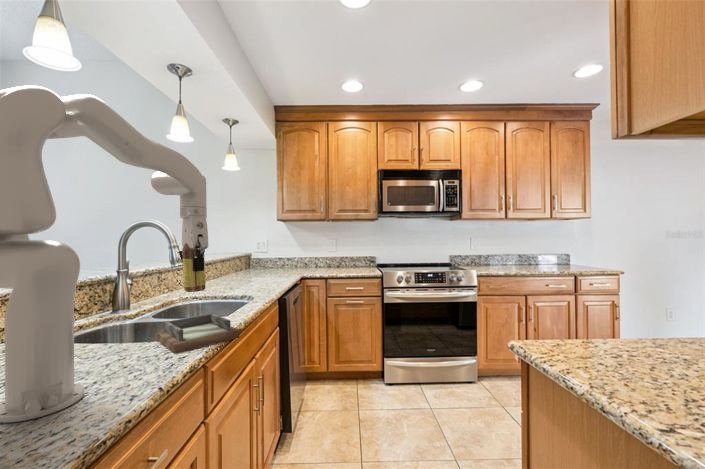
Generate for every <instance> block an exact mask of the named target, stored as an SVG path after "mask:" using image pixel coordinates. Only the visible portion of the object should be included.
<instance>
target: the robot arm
mask: <svg viewBox="0 0 705 469" xmlns="http://www.w3.org/2000/svg"><path fill="white" fill-rule="evenodd" d="M77 137H78V138H79V137H86V138H87V139H89V140H90V141H91V142H93V143H94V144H95V145H97V146H98V147H100V148H102V150H104V151H106V152H107V153H108V154H110V155H111V156H112V157H114V158H115V159H116V160H118V161H119V162H121V163H122V164H125V165H130V166H132V167H136V168H142V169H148V170H152V171H155V172H154V173H153V174H152V175H151V178H150V184H151V187H152V189H153V190H154V191H155V192H157V193H158V194H160V195H164V196H179V216H180V217H179V218H180V219H182V223H181V224H182V225H181V247H182V248H183V247H184V245H185V244H186V243H187V244H188V246H189V248H190V249H193V255H194V258H193V271H194V272H196V271H204V260H205V257H206V256H205V252H206V251H205V250H206V249H208V248H209V234H208V233H209V231H208V222H207V216H208V215H207V212H208V211H207V178H206V177H205V176H204V175H202V173H201V171H200V170H199V169H198V167H196V166H195V165H194V163H192V161H190V160H189V159H188V157H186V156H184V155H183V154H182V153H179V152H178V151H176V150H174V149H171V148H170V147H167V146H165V145H163V144H161V143H159V142H156V141H154V140H151V139H149V138H148V137H146V136H144V135H143V134H142V133H141V132H140V131H138V130H137V129H136V128H135V127H134V126H133V125H132V124H130V123H129V122H128V121H127V120H126V119H125V118H124V117H123V116H121V115H120V114H119V113H118V112H116V111H115V109H113V108H112V107H111V106H110V105H108V103H106V102H105V101H103V100H102V99H101V98H99V97H97V96H95V95H92V94H88V93H87V94H86V93H85V94H74V95H68V96H61V97H60V96H59V95H58V94H57V93H56V92H54V91H52V90H51V89H49V88H47V87H43V86H38V85H22V86H15V87H10V88H9V87H8V88H6V89H1V90H0V289H9V290H11V289H12V290H11V291H12V292H11V294H10V296H9V299H8V302H7V305H6V307H5V308H6V309H5V313H4V314H5V315H4V401H3V402H1V403H0V423H5V424H6V423H17V422H23V421H29V420H33V419H38V418H41V417H45V416H48V415H51V414H54V413H56V412H59V411H61V410H63V409H66V408H68V407H70V406H72V405H74V404H75V403H77V402H78V401H79V400H81V399H82V398H83V397H84V396H85V387H84V386H83V385H81V384H78V383H75V296H76V295H75V294H76V288H77V283H78V279H79V276H80V271H81V262H80V257H79V255H78V254H77V252H76V251H75V249H73V247H71V246H69V245H68V244H66V243H63V242H60V241H56V240H48V239H30V237H29V235H33V234H39V233H43V232H44V231H47V230H49V229H50V228H51V227H53V225H54V224H55V222H56V220H57V210H56V206H55V202H54V199H53V196H52V192H51V189H50V185H49V182H48V179H47V175H46V172H45V168H44V163H43V159H42V158H43V148H44V145H45V143H46V141H47V140H52V139H53V140H54V139H68V138H69V139H70V138H77ZM185 230H186V232H185ZM195 247H199V248H195ZM196 251H197V253H196Z"/></svg>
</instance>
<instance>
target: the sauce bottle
mask: <svg viewBox="0 0 705 469" xmlns="http://www.w3.org/2000/svg"><path fill="white" fill-rule="evenodd" d="M185 232H186V230H185ZM195 248H199V247H195ZM196 253H197V251H196ZM193 258H194V255H193V249H190V248H189V246H188V244H187V243H186V244H185V245H184V247H182V276H183V287H184V292H187V293H195V292H201V291H205V290H206V264H205V263H206V262H205V260H206V259H204V271H196V272H194V271H193Z"/></svg>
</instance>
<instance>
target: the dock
mask: <svg viewBox="0 0 705 469" xmlns="http://www.w3.org/2000/svg"><path fill="white" fill-rule="evenodd" d="M163 324H164V325H163V326H164V327H163V328H164V331H161V332H157V333H156V334H157V335H156V339H157V340H156V341H157V342H158V343H159V342H160V343H159V344H160V345H162V346H163V347H164V348H166V349H167V350H168V351H170V352H171V353H173V354H174V355H175V354H179V353H182V352H187V351H190V350H194V349H198V348H202V347H203V348H204V347H207V346H210V345H216V344H219V343H224V342H227V341H231V340H234V339H235V340H236V339H239V338H240V329H238V328H236V327H234V326H231V319H228V318H225V317H222V316H220V315H218V314H215V313H208V314H203V315H196V316H191V317H186V318H185V317H184V318H181V319H179V318H178V319H174V320H168V321H164V323H163Z"/></svg>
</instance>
